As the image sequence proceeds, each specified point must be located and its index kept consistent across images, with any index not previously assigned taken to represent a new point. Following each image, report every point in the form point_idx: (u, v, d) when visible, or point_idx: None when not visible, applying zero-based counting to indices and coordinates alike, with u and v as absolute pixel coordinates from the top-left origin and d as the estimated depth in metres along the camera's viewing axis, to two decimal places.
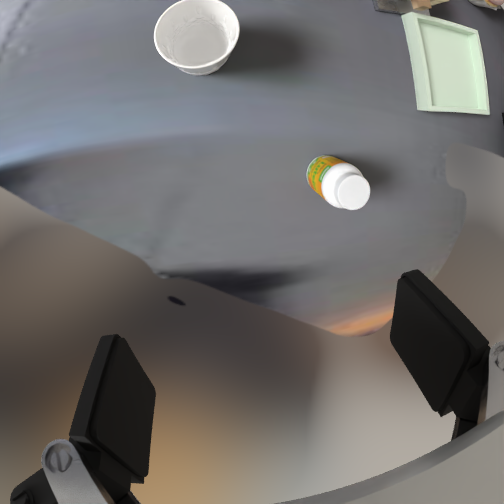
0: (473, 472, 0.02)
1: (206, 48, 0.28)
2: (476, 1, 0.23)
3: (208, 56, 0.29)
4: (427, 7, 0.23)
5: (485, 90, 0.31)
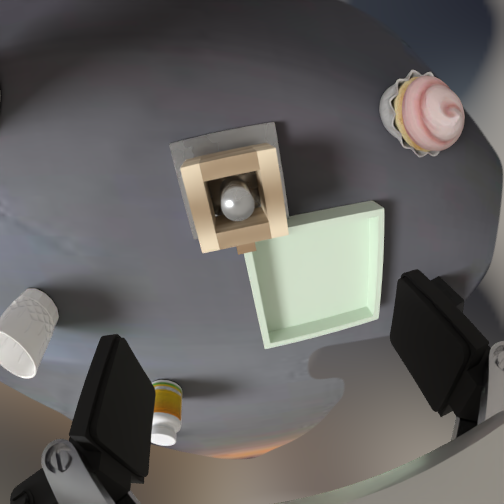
0: (473, 472, 0.02)
1: None
2: None
3: None
4: None
5: (377, 293, 0.35)
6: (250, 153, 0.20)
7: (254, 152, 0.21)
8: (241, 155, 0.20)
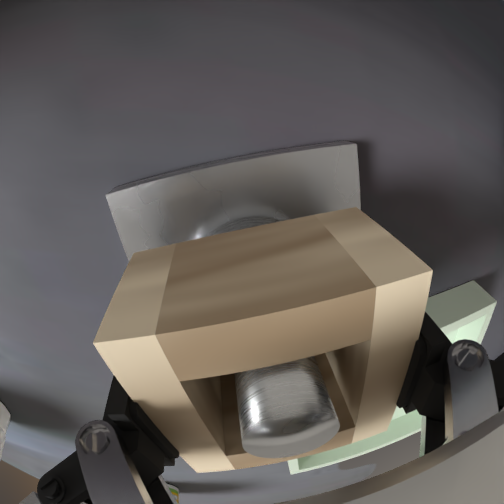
0: (473, 472, 0.02)
1: None
2: None
3: None
4: None
5: None
6: (353, 295, 0.05)
7: (367, 289, 0.05)
8: (321, 305, 0.05)
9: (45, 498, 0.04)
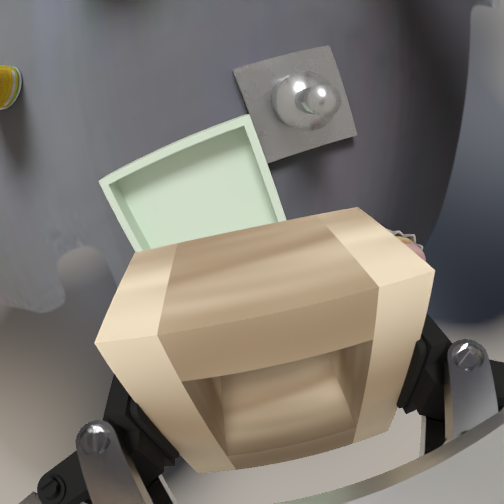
0: (473, 472, 0.02)
1: None
2: None
3: None
4: None
5: None
6: (356, 295, 0.05)
7: (369, 289, 0.05)
8: (323, 305, 0.05)
9: (45, 498, 0.04)
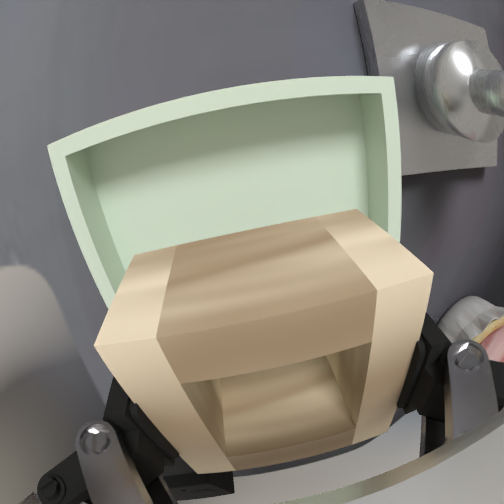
0: (473, 472, 0.02)
1: None
2: (449, 334, 0.20)
3: None
4: None
5: None
6: (354, 298, 0.05)
7: (367, 292, 0.05)
8: (322, 308, 0.05)
9: (45, 498, 0.04)
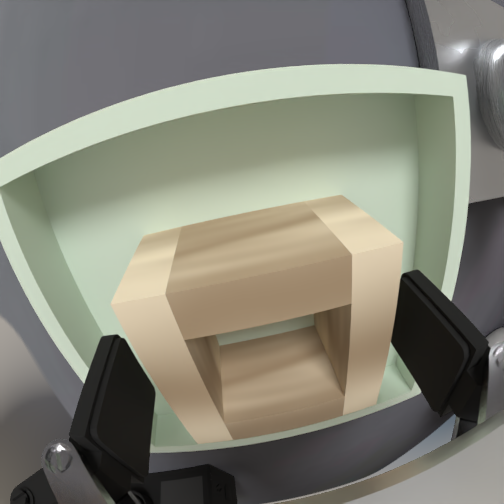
0: (473, 472, 0.02)
1: None
2: None
3: None
4: None
5: (220, 444, 0.13)
6: (332, 260, 0.06)
7: (344, 256, 0.06)
8: (304, 268, 0.06)
9: None
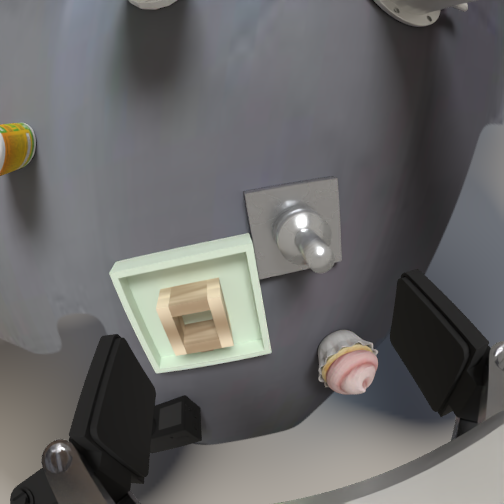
0: (473, 472, 0.02)
1: None
2: (322, 352, 0.39)
3: None
4: None
5: (185, 366, 0.36)
6: (203, 300, 0.30)
7: (205, 299, 0.30)
8: (196, 301, 0.30)
9: None
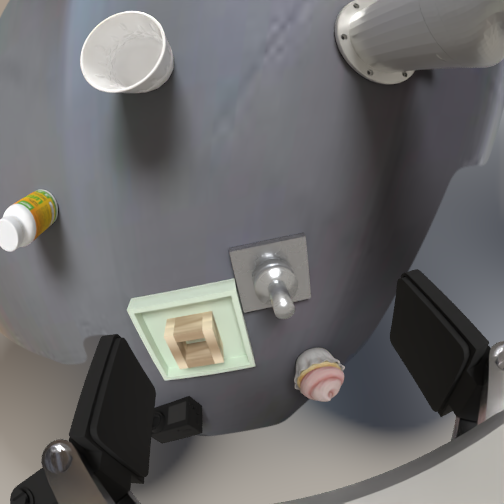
0: (473, 472, 0.02)
1: (142, 69, 0.26)
2: (298, 366, 0.48)
3: (133, 72, 0.26)
4: None
5: (188, 375, 0.45)
6: (199, 331, 0.39)
7: (201, 330, 0.39)
8: (194, 332, 0.39)
9: None
